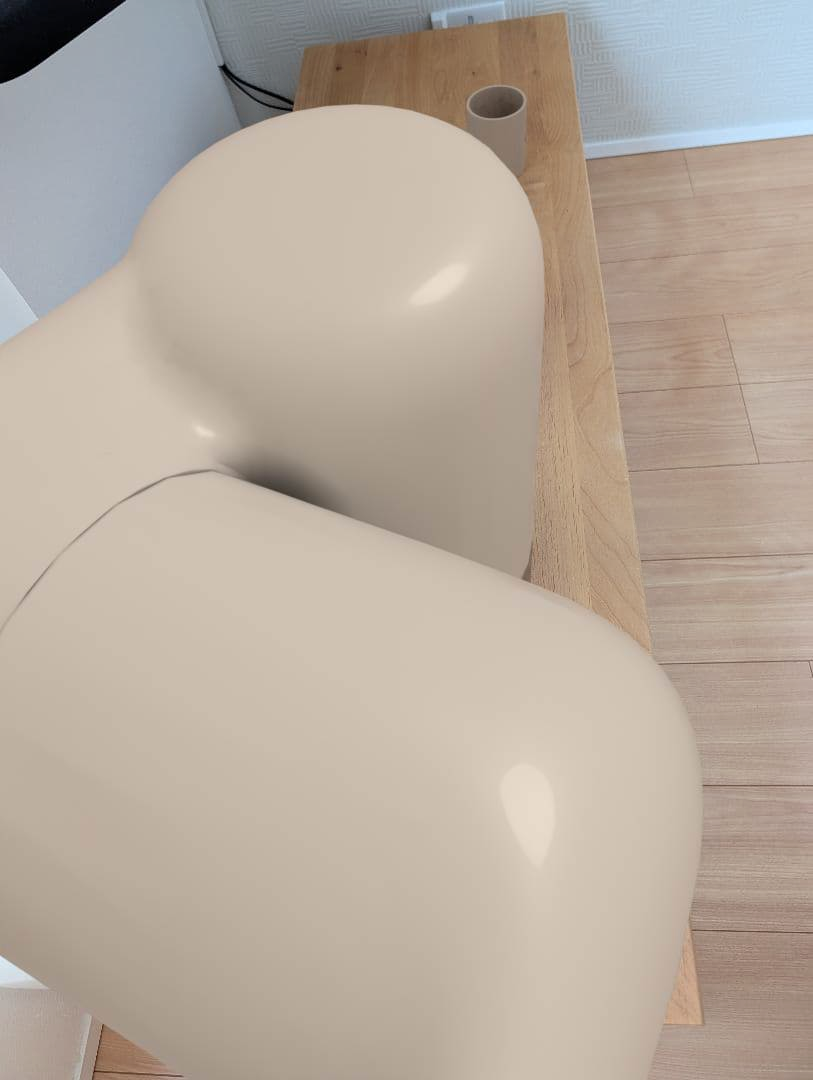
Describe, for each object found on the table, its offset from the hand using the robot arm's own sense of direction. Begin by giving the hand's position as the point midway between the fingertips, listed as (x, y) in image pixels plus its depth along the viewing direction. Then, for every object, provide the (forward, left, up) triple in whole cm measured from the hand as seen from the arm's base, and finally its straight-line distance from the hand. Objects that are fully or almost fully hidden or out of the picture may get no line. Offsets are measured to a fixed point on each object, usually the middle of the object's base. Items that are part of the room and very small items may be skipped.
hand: (444, 735), depth 38 cm
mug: (+97, +30, -38) cm, 108 cm away
